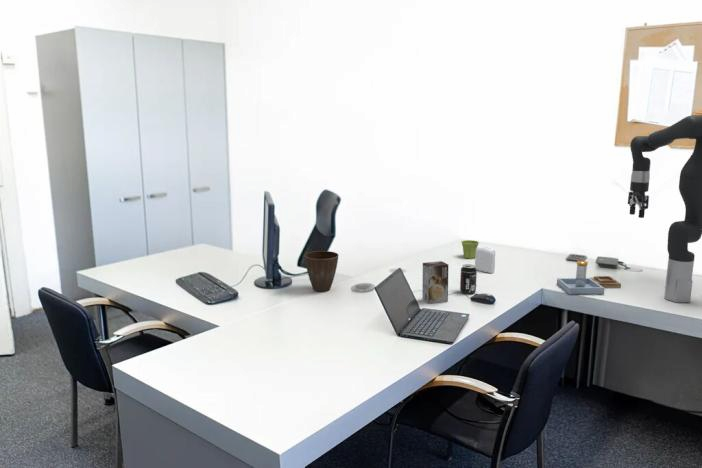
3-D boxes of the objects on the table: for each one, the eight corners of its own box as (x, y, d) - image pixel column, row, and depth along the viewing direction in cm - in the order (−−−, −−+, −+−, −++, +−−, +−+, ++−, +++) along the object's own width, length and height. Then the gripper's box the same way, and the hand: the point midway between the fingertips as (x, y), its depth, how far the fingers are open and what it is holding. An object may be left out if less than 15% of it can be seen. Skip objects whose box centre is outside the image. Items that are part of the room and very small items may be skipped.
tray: (603, 294, 246) (604, 288, 245) (569, 294, 246) (569, 288, 245) (589, 284, 261) (590, 278, 260) (556, 284, 261) (557, 278, 260)
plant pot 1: (332, 283, 265) (331, 249, 262) (343, 292, 251) (343, 257, 248) (301, 286, 260) (300, 252, 256) (311, 296, 246) (310, 260, 243)
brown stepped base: (620, 287, 255) (621, 281, 255) (598, 288, 255) (598, 281, 255) (610, 281, 265) (611, 275, 264) (589, 281, 265) (589, 275, 264)
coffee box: (441, 297, 244) (442, 260, 241) (448, 301, 238) (449, 264, 235) (421, 299, 241) (422, 262, 238) (427, 304, 235) (428, 266, 232)
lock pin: (586, 289, 251) (589, 263, 249) (576, 289, 251) (579, 262, 249) (583, 286, 255) (585, 260, 253) (573, 286, 255) (575, 260, 253)
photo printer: (473, 269, 286) (474, 245, 284) (478, 268, 289) (479, 244, 286) (490, 274, 278) (491, 249, 276) (495, 272, 281) (497, 248, 278)
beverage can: (457, 290, 252) (457, 264, 250) (470, 289, 255) (471, 263, 252) (465, 295, 246) (466, 268, 244) (478, 293, 248) (480, 266, 246)
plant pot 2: (457, 256, 313) (458, 240, 311) (472, 254, 316) (473, 239, 314) (465, 260, 304) (466, 244, 302) (481, 259, 307) (482, 243, 305)
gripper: (624, 179, 266) (621, 213, 270) (639, 182, 252) (635, 218, 256) (640, 179, 266) (637, 213, 270) (656, 182, 252) (652, 218, 256)
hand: (636, 216), depth 263 cm, fingers open, 8 cm apart
